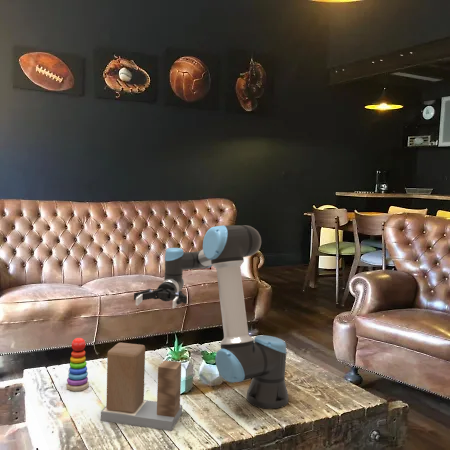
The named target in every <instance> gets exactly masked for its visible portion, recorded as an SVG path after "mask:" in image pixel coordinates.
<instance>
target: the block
mask: <svg viewBox="0 0 450 450" xmlns="http://www.w3.org/2000/svg"><path fill="white" fill-rule="evenodd" d="M106 359H107V360H106V362H107V363H106V364H107V366H106V367H107V368H106V406H105V407H106V408H107V409H108V410H115V411H122V412H130V413H133V412H135V411H136V410H137V408H138V407H139V406H140V404H141V403H142V402H143V400H145V375H146V374H145V371H146V369H145V368H146V346H145V345H144V344H140V343H138V344H137V343H130V342H129V343H127V342H118V343H116V344H115V345H114V346H113V347H112V348H110V349H108V351H107V358H106Z"/></svg>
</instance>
